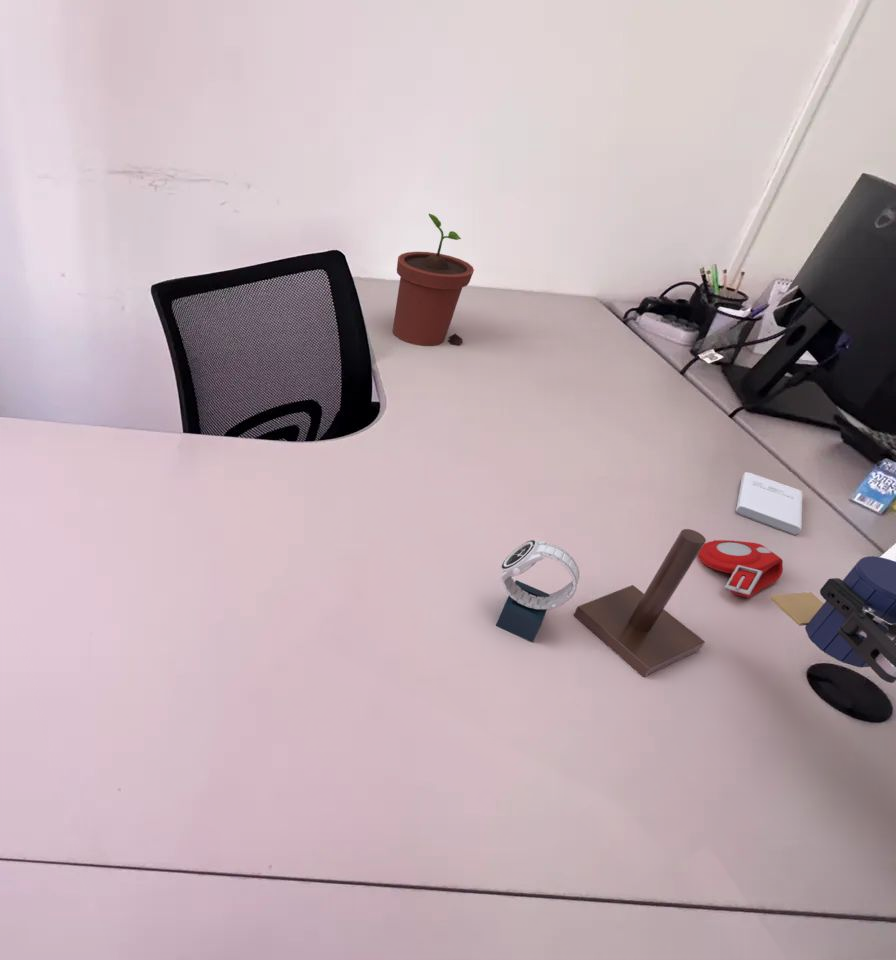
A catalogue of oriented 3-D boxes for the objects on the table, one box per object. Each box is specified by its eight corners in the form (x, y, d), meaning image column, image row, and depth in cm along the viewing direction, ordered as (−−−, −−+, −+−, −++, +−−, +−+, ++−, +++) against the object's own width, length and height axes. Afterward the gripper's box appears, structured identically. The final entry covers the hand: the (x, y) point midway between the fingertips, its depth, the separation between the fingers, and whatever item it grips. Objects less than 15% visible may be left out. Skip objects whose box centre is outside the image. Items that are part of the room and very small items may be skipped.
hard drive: (734, 513, 103) (741, 478, 111) (796, 536, 99) (798, 498, 108) (739, 505, 102) (745, 470, 110) (802, 528, 98) (804, 490, 107)
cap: (892, 664, 66) (955, 599, 60) (841, 669, 64) (901, 603, 59) (812, 594, 73) (862, 531, 68) (765, 597, 72) (813, 533, 67)
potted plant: (363, 325, 151) (385, 209, 137) (427, 310, 163) (453, 201, 148) (422, 356, 140) (453, 233, 126) (486, 337, 152) (521, 223, 137)
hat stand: (627, 593, 86) (681, 499, 77) (699, 650, 79) (767, 554, 70) (573, 614, 82) (622, 518, 73) (643, 677, 74) (707, 578, 66)
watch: (492, 591, 84) (520, 522, 77) (558, 620, 81) (592, 551, 74) (479, 618, 80) (507, 548, 73) (548, 650, 76) (583, 579, 70)
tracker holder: (683, 537, 95) (758, 528, 94) (681, 564, 96) (754, 556, 95) (737, 581, 83) (823, 572, 82) (733, 611, 85) (818, 603, 84)
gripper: (1151, 696, 52) (939, 549, 65) (1005, 713, 49) (815, 557, 62) (1074, 752, 56) (890, 604, 69) (936, 771, 53) (772, 613, 67)
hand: (855, 582), depth 66 cm, fingers closed on cap, 6 cm apart
